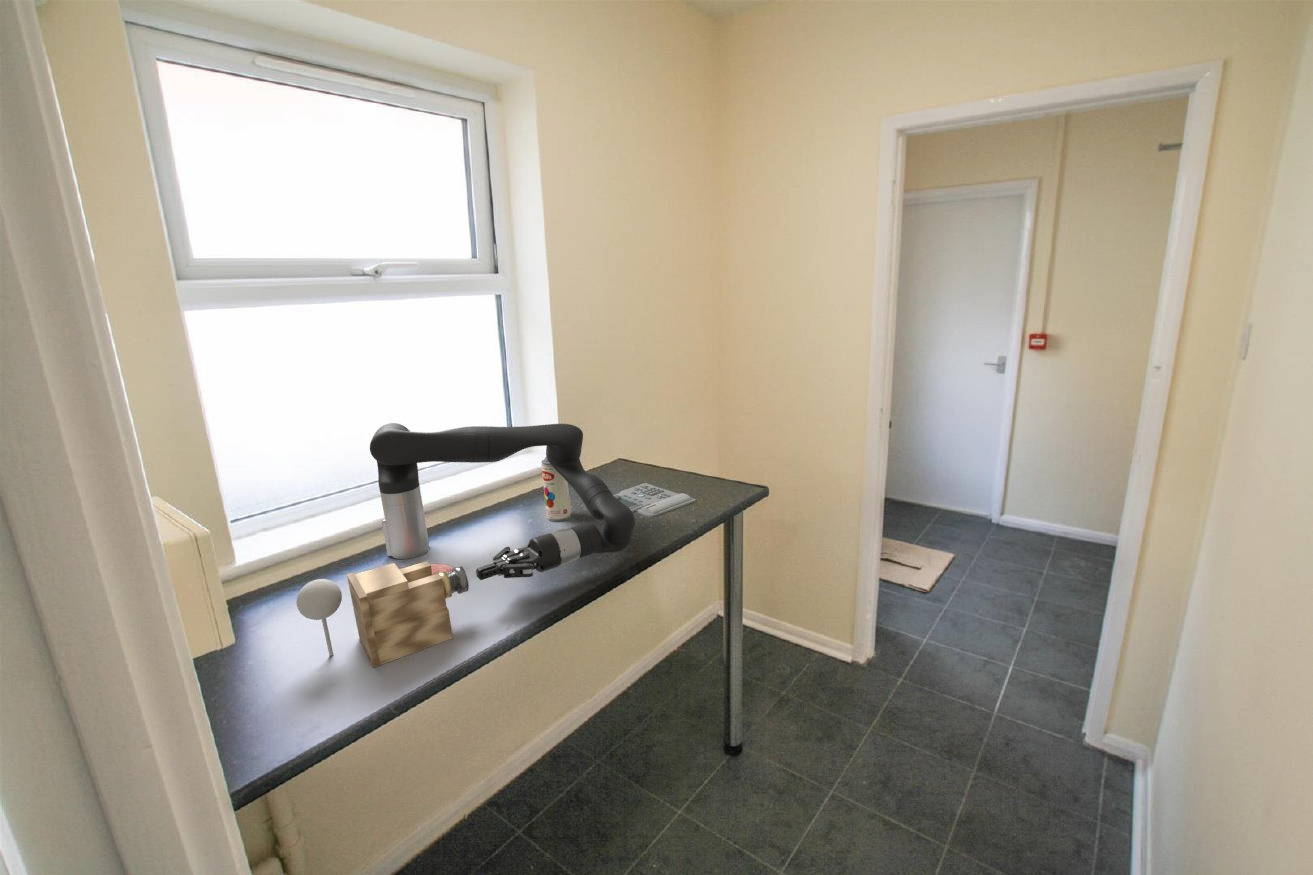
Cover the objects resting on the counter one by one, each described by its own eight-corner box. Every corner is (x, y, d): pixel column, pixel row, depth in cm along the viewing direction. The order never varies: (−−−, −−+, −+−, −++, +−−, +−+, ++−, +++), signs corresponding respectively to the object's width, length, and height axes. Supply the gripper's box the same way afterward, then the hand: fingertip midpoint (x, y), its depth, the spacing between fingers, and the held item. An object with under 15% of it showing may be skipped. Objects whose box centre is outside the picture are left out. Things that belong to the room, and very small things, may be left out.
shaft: (376, 627, 110) (371, 601, 108) (370, 615, 114) (365, 590, 112) (470, 595, 119) (466, 571, 118) (461, 585, 123) (457, 562, 122)
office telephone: (696, 494, 179) (646, 514, 166) (697, 503, 180) (646, 522, 167) (645, 478, 196) (595, 495, 183) (645, 486, 197) (596, 503, 184)
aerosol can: (542, 518, 173) (534, 450, 168) (561, 511, 178) (555, 445, 173) (556, 523, 168) (549, 454, 163) (575, 516, 173) (569, 449, 168)
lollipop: (359, 642, 115) (345, 570, 111) (341, 665, 108) (325, 589, 105) (321, 645, 115) (306, 573, 111) (301, 668, 108) (284, 592, 104)
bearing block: (373, 667, 107) (359, 598, 104) (359, 638, 116) (346, 574, 113) (453, 637, 115) (442, 572, 112) (434, 612, 124) (424, 551, 121)
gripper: (539, 524, 136) (464, 547, 126) (567, 542, 126) (487, 568, 116) (543, 555, 138) (468, 579, 128) (570, 575, 128) (492, 603, 118)
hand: (477, 574), depth 122 cm, fingers closed
